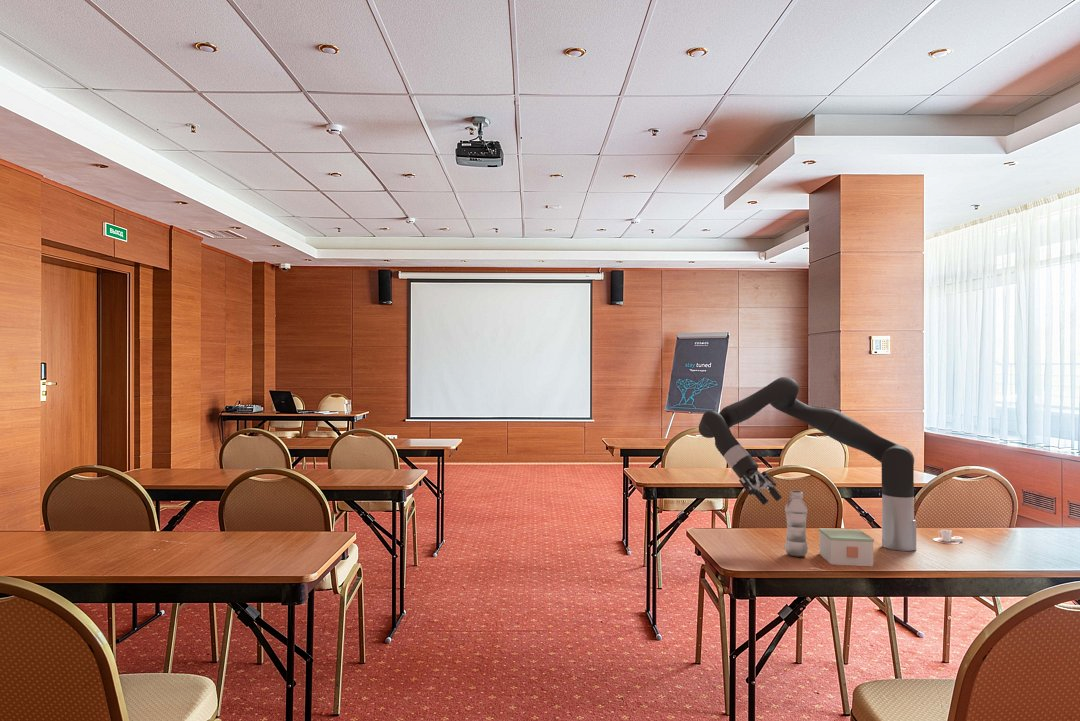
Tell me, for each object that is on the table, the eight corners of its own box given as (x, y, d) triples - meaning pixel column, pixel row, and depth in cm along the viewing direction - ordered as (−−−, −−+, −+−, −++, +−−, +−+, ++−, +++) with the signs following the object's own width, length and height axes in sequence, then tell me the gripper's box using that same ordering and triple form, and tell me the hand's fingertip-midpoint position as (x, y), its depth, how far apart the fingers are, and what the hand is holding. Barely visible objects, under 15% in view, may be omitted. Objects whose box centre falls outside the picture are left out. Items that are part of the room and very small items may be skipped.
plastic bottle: (807, 559, 204) (807, 494, 205) (783, 557, 207) (784, 492, 208) (808, 554, 210) (808, 490, 211) (785, 552, 213) (785, 489, 213)
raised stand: (859, 555, 210) (859, 529, 210) (874, 566, 198) (874, 539, 198) (818, 553, 212) (819, 528, 212) (831, 564, 199) (831, 537, 199)
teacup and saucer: (963, 541, 230) (963, 530, 230) (962, 546, 224) (962, 534, 224) (933, 538, 235) (933, 526, 235) (932, 542, 229) (932, 530, 229)
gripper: (744, 466, 230) (776, 505, 221) (721, 470, 220) (753, 511, 211) (759, 452, 226) (791, 491, 217) (736, 456, 216) (769, 497, 208)
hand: (772, 501), depth 214 cm, fingers open, 8 cm apart
